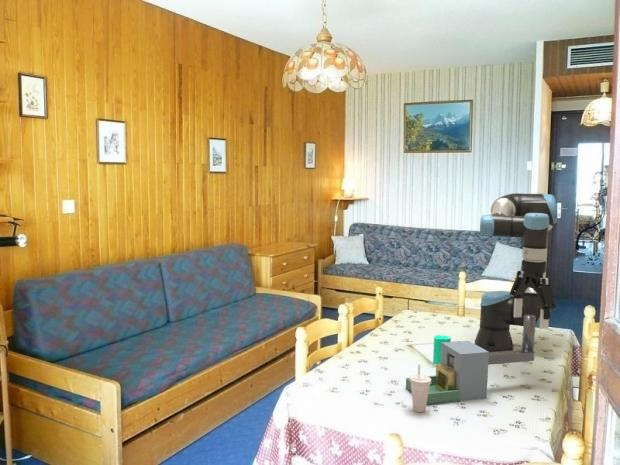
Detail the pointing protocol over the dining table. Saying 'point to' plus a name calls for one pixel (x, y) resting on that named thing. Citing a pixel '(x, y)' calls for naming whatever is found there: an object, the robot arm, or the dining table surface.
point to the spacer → (440, 378)
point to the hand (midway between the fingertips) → (530, 322)
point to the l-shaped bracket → (515, 355)
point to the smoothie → (420, 391)
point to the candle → (439, 347)
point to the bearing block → (467, 368)
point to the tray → (437, 393)
